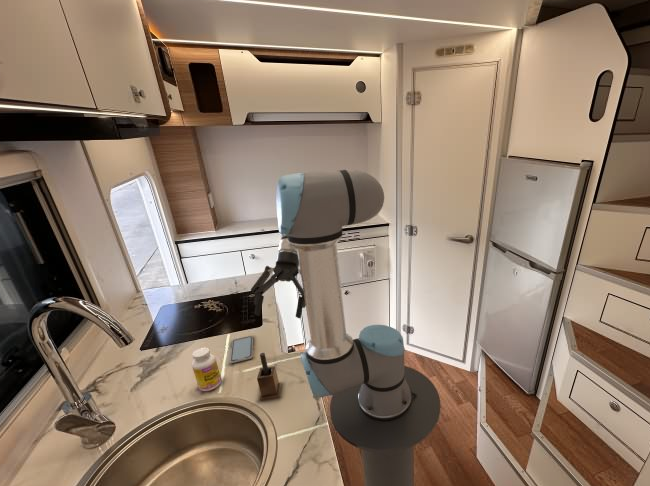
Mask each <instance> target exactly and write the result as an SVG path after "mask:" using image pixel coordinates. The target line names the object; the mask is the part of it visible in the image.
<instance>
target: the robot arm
mask: <svg viewBox="0 0 650 486" xmlns="http://www.w3.org/2000/svg"><path fill="white" fill-rule="evenodd" d="M275 196H276V198H275V199H276V201H275V202H276V218H277V226H278V227H277V228H278V232H279V234H280V235H281V237H280V240H279V241H280V242H279V246H278V250H277V251H278V252H277V256H276V260H275V266H274V267H271V266H269V265H266V266H265V267H264V270H263V272H262V274H261V275H260V276H259V277H258V279H257V280H256V282H254V285H252V287H250V292H251V293H253V294H255V295H254V300H253V304H254V305H255V307H254V310H253V311H254V312H253V315H255V316H258V317H261V313H262V306H263V303H264V298H265V295H264V294H265V293H266V292H267V291H268V290H269V289H271V288H272V287H273V286H274V285H275V284H276V283H279V281H280V282H292V283H293V285H294V286H295V288H296V289H297V291H298V293H299V294H300V296H298V300H297V306H296V312H295V318H297V319H302V312H303V309H305V311H306V317H307V323H308V330H309V335H310V338H309V340H308V341H307V343H306V346H305V351H304V352H302V353H301V354H300V359H301V362H302V367H303V369H304V372H305V375H306V378H307V381H308V384H309V388H310V390H311V393H312V395H313V396H314V397H316V398H324V397H325V398H326V397H328V396H331V397H332V395H333V394H335V393H338V392H341V391H344V390H347V389H350V388H353V387H356V386H359V385H361V388H360V391H359V395H358V399H359V406H360V409H361V411H362V412H363V413H364V414H365V415H366V416H367V417H369V418H371V419H373V420H377V421H391V420H395V419H398V418H400V417H401V416H403V415H404V414H405V413H406V412H407V411H408V409H409V408H410V405H411V395H412V396H414V397H416V396H417V394H415V393H413V392H412V391H410V388H409V386H408V384H407V382H406V379H405V377H404V366H405V351H406V348H405V344H404V337H403V335H402V334H401V333H400V331H399V330H398V329H396V328H394V327H392V326H389V325H386V324H372V325H371V324H370V325H368V326H365V327H364V328H363V329H361V330H360V332H359V335H358V338H357V337H356V338H354V339H353V337H352V336H351V335H350V334H349V333H347V328H346V319H345V310H344V299H343V291H342V290H343V289H342V281H341V272H340V264H339V263H340V262H339V254H338V247H337V246H338V243H339V242H340V240H341V239H342V238H343V236H344V235H343V233H344V232H343V227H346V226H352V225H358V224H361V223H365V222H367V221H369V220H371V219H373V218H374V217H376V216H377V215H378V214H380V212H381V210H382V209H383V207H384V204H385V192H384V189H383V186H382V185H381V183H380V182H379V181H378V180H377V179H376V178H375V177H374V176H372V175H371V174H370V173H367V172H366V171H362V170H359V169H352V168H350V169H349V168H348V169H347V168H346V169H340V170H326V171H324V170H323V171H310V172H298V173H296V172H295V173H291V174H284V175H282V176H281V177H280V178H279V179H278V180H277V183H276V195H275ZM298 275H300V278H301V284H300V283H299V280H298V279H297V276H298ZM269 277H270V278H269Z"/></svg>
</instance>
